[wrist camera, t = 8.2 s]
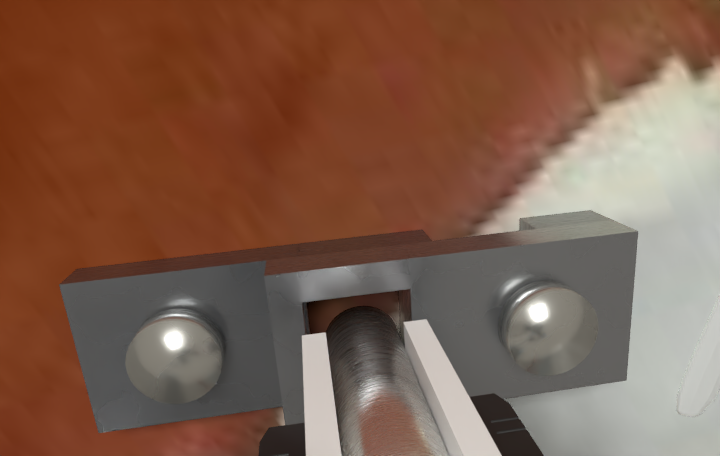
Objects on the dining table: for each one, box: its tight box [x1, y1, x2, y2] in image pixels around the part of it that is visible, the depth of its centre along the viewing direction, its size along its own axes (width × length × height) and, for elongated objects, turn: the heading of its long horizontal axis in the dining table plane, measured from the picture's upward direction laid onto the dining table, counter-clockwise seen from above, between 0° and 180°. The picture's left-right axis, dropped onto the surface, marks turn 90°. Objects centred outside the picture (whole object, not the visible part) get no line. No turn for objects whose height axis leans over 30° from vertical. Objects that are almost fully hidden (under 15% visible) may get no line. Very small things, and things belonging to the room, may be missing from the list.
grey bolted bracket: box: [59, 210, 638, 433], centre depth 19 cm, size 20×6×4 cm, turn 95°
